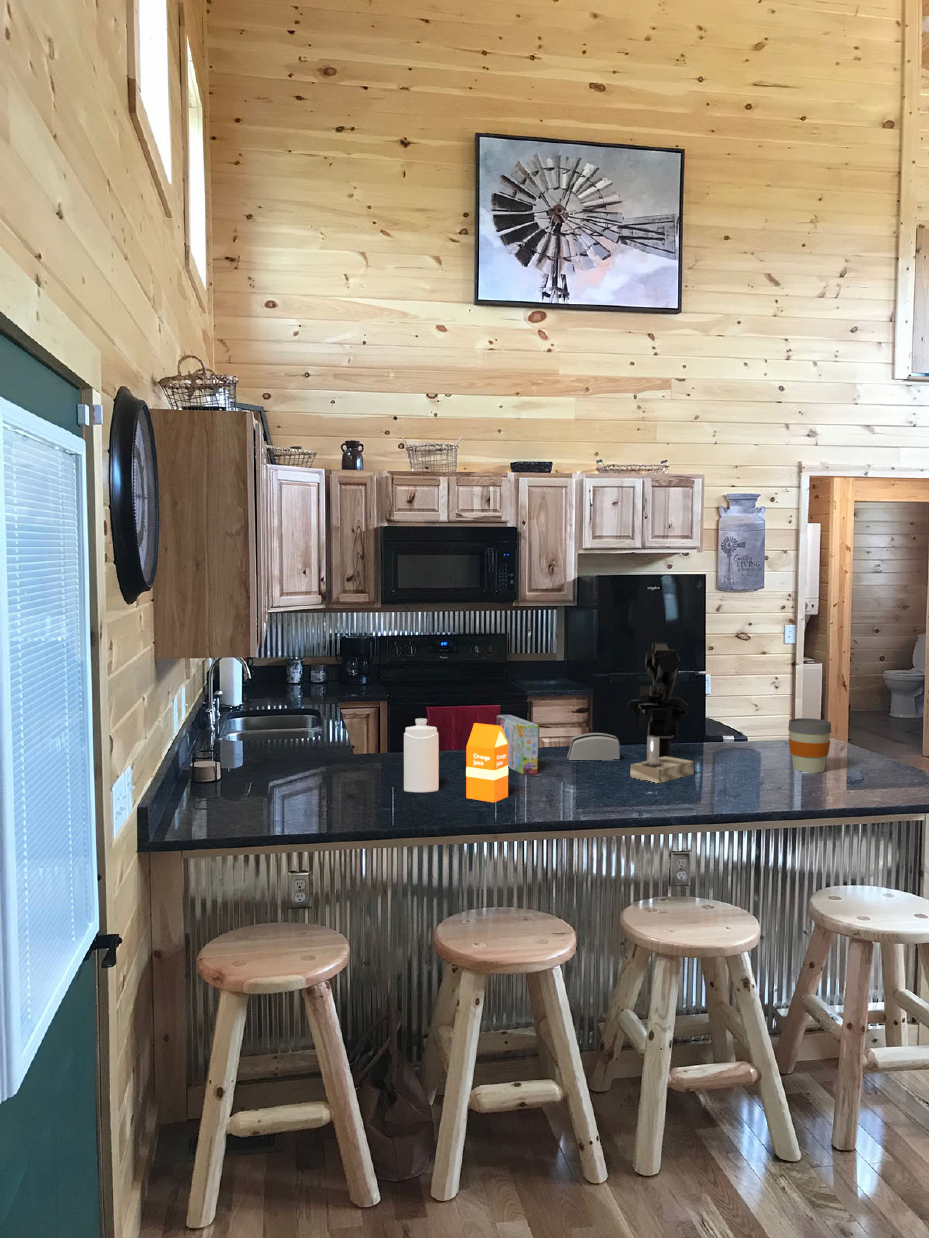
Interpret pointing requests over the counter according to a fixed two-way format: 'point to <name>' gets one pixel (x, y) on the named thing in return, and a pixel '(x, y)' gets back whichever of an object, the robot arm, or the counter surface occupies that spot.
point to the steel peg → (653, 751)
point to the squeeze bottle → (421, 757)
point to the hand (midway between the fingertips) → (651, 731)
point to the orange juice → (487, 763)
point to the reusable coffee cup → (809, 743)
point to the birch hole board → (663, 770)
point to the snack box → (520, 743)
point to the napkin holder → (594, 747)
